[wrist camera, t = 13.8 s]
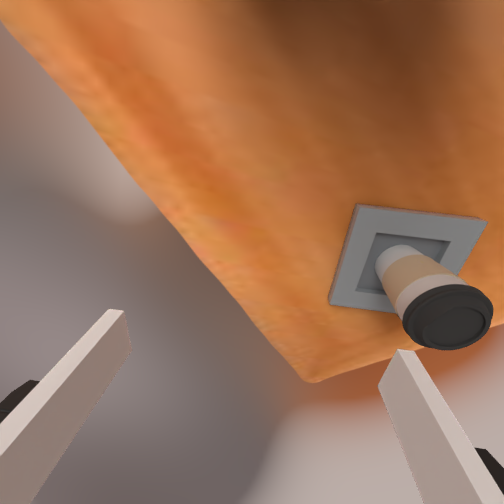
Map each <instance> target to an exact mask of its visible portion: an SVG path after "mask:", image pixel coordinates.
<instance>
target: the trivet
mask: <svg viewBox="0 0 504 504" xmlns="http://www.w3.org/2000/svg"><path fill="white" fill-rule="evenodd" d="M487 223H488V222H487V221H485V220H483V219H480V218H478V217H470V216H461V215H452V214H444V213H435V212H426V211H418V210H409V209H400V208H392V207H383V206H374V205H365V204H357V203H356V204H355V208H354V211H353V214H352V218H351V221H350V225H349V228H348V231H347V235H346V238H345V241H344V245H343V248H342V251H341V255H340V258H339V261H338V265H337V268H336V272H335V275H334V278H333V282H332V285H331V288H330V292H329V295H328V300H329V303H330V305H337V306H345V307H352V308H360V309H367V310H375V311H382V312H390V313H396V311H395V309H394V307H393V306H392V304H391V302H390V300H389V298H388V296H387V294H386V292H385V290H384V288H383V286H382V283H381V281H380V279H379V277H378V275H377V273H376V271H375V263H376V260H377V258H378V257H379V256H380V254H381V253H382V252H384V251H385V250H386V249H388V248H390V247H393V246H396V245H408V246H411V247H413V248H415V249H416V250H417V251H419V252H420V253H422V254H423V255H425V256H428V257H430V258H431V259H433V260H434V261H436V262H437V263H439V264H440V265H442V266H443V267H445V268H446V269H448V270H449V271H451V272H452V273H454V274H455V275H458V273H459V272H460V270H461V268H462V266H463V265H464V263H465V261H466V259H467V258H468V256H469V254H470V253H471V251H472V249H473V247H474V246H475V244H476V242H477V240H478V239H479V237H480V235H481V234H482V232H483V230H484V228H485V227H486V225H487Z"/></svg>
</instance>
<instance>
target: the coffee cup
mask: <svg viewBox="0 0 504 504" xmlns="http://www.w3.org/2000/svg"><path fill="white" fill-rule="evenodd" d="M375 271H376V273H377V275H378V277H379V279H380V281H381V283H382V286H383V288H384V290H385V292H386V294H387V296H388V298H389V300H390V302H391V304H392V306H393V307H394V309H395V311H396V313H397V315H398V317H399V318H400V319H401V320H402V324H403V328H404V330H405V331H406V333H407V334H408V335H409V336H410V337H411V339H412V340H413V341H414V342H416V343H417V344H419V345H422V346H425V347H429V348H435V349H439V350H455V349H460V348H463V347H467V346H469V345H471V344H473V343H475V342H476V341H478V340H479V339H481V338H482V337H483V336H484V335H485V334H486V332H487V331H488V329H489V327H490V324H491V319H492V316H493V305H492V303H491V301H490V300H489V299H488V298H487V297H486V296H485V295H484V294H483V293H482V292H481V291H480V290H478V289H476V288H474V287H472V286H469V285H467V283H466V282H465V281H464V280H463V279H461V278H460V277H458V276H457V275H455V274H454V273H452V272H451V271H449V270H448V269H446V268H445V267H443V266H442V265H440V264H439V263H437V262H436V261H434V260H433V259H431V258H430V257H428V256H425V255H423V254H422V253H420V252H419V251H417V250H416V249H415V248H413V247H411V246H408V245H396V246H393V247H390V248H388V249H386V250H385V251H384V252H382V253H381V254H380V256H379V257H378V258H377V260H376V263H375Z"/></svg>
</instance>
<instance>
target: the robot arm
mask: <svg viewBox="0 0 504 504" xmlns="http://www.w3.org/2000/svg"><path fill="white" fill-rule="evenodd" d="M131 351H132V348H131V343H130V338H129V333H128V328H127V323H126V318H125V313H124V311H121V310H114V309H108V310H107V311H106V313H105V314H104V315H103V316H102V317H101V318H100V319H99V320H98V321H97V322H96V323H95V324H94V325H93V326H92V327H91V328H90V329H89V330H88V332H87V333H86V334H85V335H84V336H83V337H82V338H81V339H80V340H79V341H78V342H77V343H76V344H75V345H74V346H73V347H72V348H71V349H70V351H69V352H68V353H67V354H66V355H65V356H64V357H63V358H62V359H61V360H60V361H59V362H58V363H57V364H56V365H55V366H54V367H53V369H52V370H51V371H50V372H49V373H48V374H47V375H46V376H45V377H44V378H43V379H42V380H41V381H34V380H29V381H28V382H26V383H25V384H23V385H22V386H20V387H19V388H17V389H16V390H14V391H13V392H11V393H10V394H9V395H8V396H7V397H6V398H5V399H4V400H3V401H2V402H1V403H0V504H30V503H31V502H32V500H33V499H34V497H35V496H36V494H37V493H38V491H39V489H40V488H41V487H42V485H43V484H44V482H45V481H46V479H47V478H48V476H49V475H50V473H51V472H52V470H53V468H54V467H55V465H56V464H57V462H58V461H59V460H60V458H61V456H62V455H63V453H64V452H65V450H66V449H67V447H68V446H69V444H70V443H71V441H72V440H73V438H74V437H75V435H76V434H77V432H78V431H79V429H80V428H81V426H82V425H83V423H84V422H85V420H86V419H87V417H88V416H89V414H90V412H91V411H92V410H93V408H94V407H95V405H96V404H97V402H98V401H99V399H100V398H101V396H102V394H103V393H104V392H105V390H106V389H107V387H108V386H109V384H110V383H111V381H112V379H113V378H114V377H115V375H116V373H117V372H118V370H119V369H120V367H121V366H122V364H123V363H124V361H125V360H126V358H127V357H128V355H129V354H130V352H131ZM378 388H379V391H380V394H381V396H382V399H383V401H384V404H385V406H386V409H387V411H388V414H389V416H390V419H391V421H392V424H393V426H394V429H395V432H396V434H397V437H398V439H399V442H400V444H401V447H402V449H403V452H404V454H405V457H406V459H407V462H408V465H409V467H410V469H411V472H412V475H413V477H414V480H415V482H416V485H417V487H418V490H419V492H420V495H421V498H422V500H423V503H424V504H504V468H503V467H502V466H501V465H500V464H499V463H498V462H497V461H496V460H495V458H493V456H492V455H491V454H490V453H489V452H488V451H487V450H486V449H480V448H474V447H473V445H472V444H471V442H470V441H469V439H468V437H467V436H466V434H465V433H464V431H463V429H462V428H461V426H460V424H459V423H458V421H457V420H456V418H455V416H454V415H453V413H452V411H451V410H450V408H449V407H448V405H447V404H446V402H445V400H444V399H443V397H442V396H441V394H440V392H439V391H438V389H437V388H436V386H435V384H434V383H433V381H432V379H431V378H430V376H429V375H428V373H427V372H426V370H425V368H424V366H423V365H422V363H421V362H420V360H419V359H418V357H417V355H416V354H415V352H414V351H409V350H402V349H397V350H396V352H395V354H394V356H393V358H392V360H391V361H390V364H389V365H388V367H387V369H386V371H385V373H384V375H383V377H382V378H381V380H380V382H379V384H378Z"/></svg>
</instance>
